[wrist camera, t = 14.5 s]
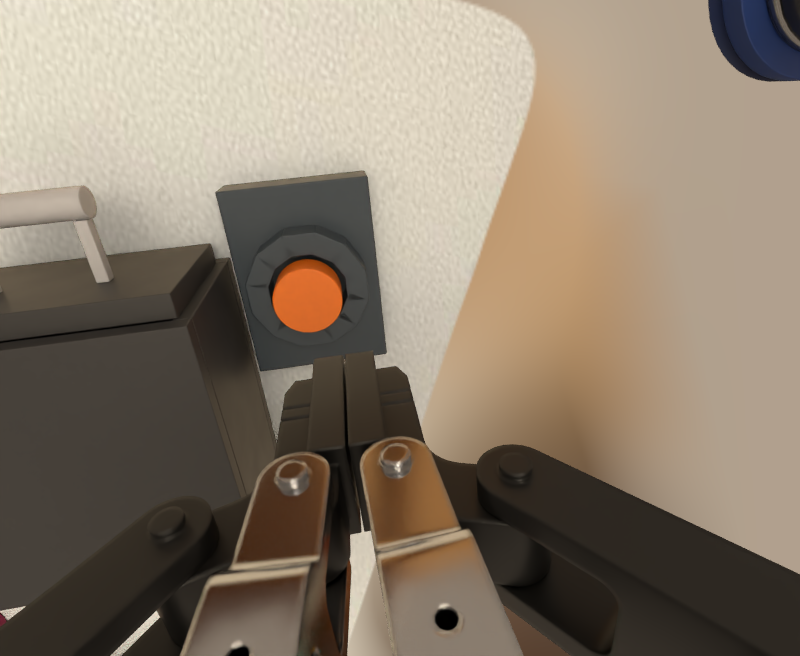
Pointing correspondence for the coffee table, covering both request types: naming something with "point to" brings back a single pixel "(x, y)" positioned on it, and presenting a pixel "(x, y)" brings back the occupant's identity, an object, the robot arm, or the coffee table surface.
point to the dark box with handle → (90, 275)
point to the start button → (307, 296)
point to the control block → (305, 239)
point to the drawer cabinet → (123, 431)
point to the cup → (2, 620)
